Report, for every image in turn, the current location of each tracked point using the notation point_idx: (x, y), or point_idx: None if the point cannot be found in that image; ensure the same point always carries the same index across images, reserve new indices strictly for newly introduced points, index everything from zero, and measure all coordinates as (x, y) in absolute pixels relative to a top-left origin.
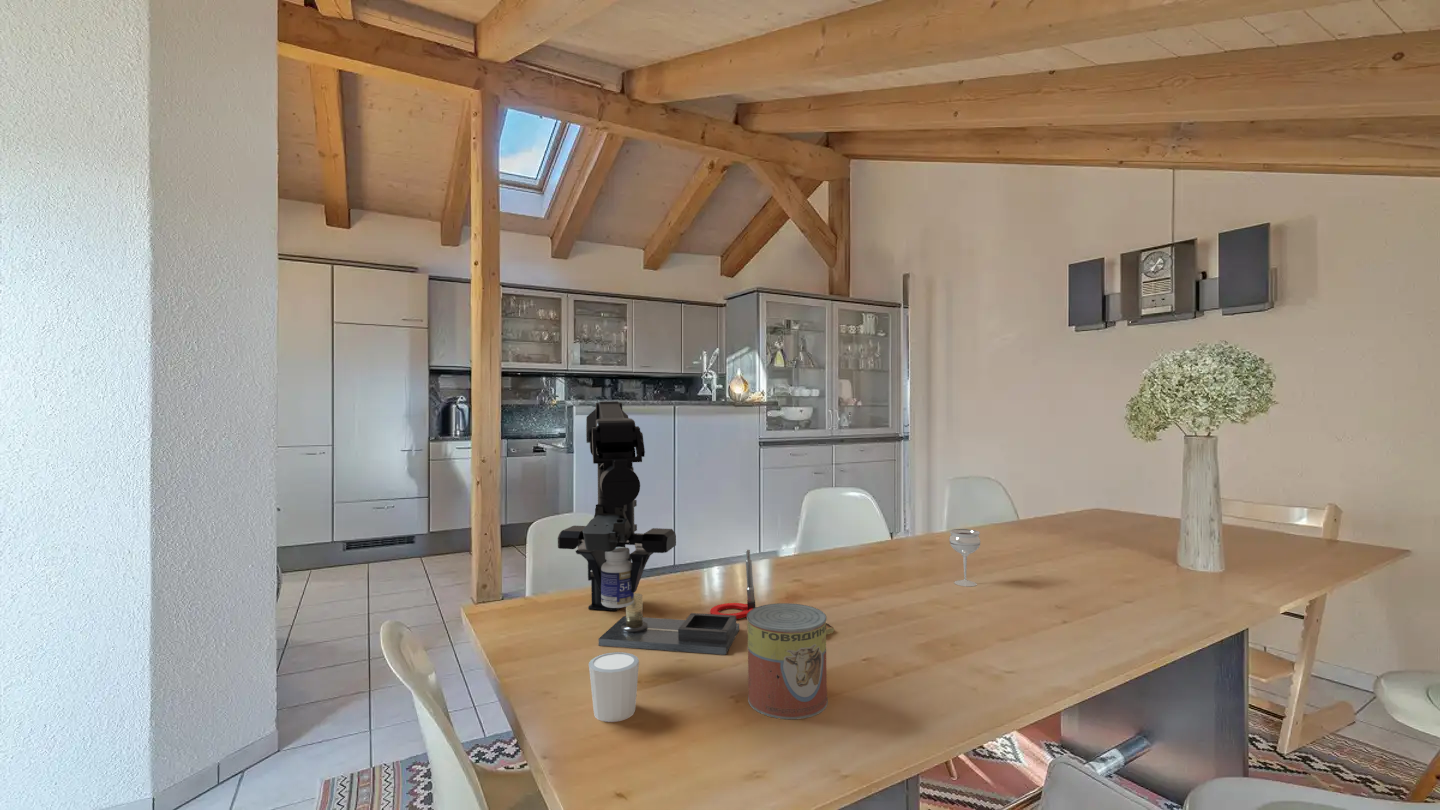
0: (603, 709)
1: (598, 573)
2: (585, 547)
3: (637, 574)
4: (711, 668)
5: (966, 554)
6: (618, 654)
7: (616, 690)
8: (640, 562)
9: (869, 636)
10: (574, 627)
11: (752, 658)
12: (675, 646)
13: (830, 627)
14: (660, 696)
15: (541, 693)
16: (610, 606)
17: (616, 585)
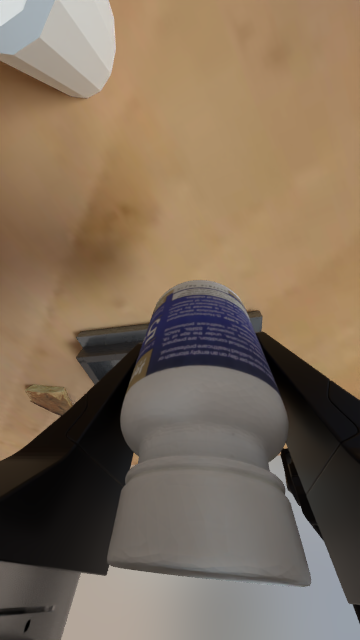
0: None
1: (288, 376)
2: None
3: (88, 392)
4: (66, 293)
5: None
6: (11, 10)
7: None
8: (19, 453)
9: (3, 396)
10: (322, 351)
11: None
12: (141, 328)
13: (32, 401)
14: (51, 165)
15: (289, 40)
16: (195, 280)
17: (167, 326)
